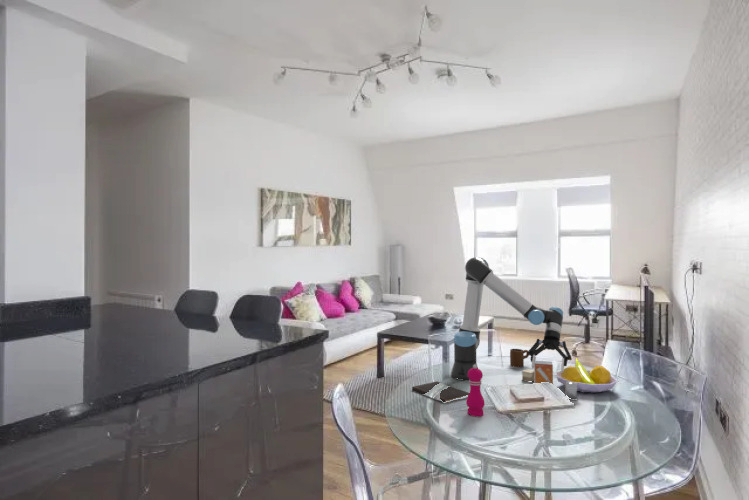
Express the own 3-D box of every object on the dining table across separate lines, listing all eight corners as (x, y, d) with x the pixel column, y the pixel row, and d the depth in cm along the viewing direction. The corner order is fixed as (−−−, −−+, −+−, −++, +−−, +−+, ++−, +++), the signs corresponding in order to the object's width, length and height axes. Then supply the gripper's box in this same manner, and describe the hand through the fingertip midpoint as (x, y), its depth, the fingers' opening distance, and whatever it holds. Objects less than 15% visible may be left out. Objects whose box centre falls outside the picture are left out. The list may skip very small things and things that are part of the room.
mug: (525, 363, 253) (525, 347, 253) (532, 366, 245) (532, 350, 246) (507, 364, 250) (507, 348, 250) (514, 367, 243) (514, 351, 243)
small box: (535, 390, 200) (534, 363, 200) (534, 386, 206) (533, 360, 206) (553, 392, 197) (552, 364, 198) (551, 388, 204) (551, 361, 204)
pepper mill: (485, 411, 172) (484, 363, 172) (483, 418, 165) (483, 367, 166) (467, 409, 174) (467, 361, 175) (465, 415, 167) (464, 365, 168)
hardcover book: (437, 385, 210) (436, 381, 210) (470, 398, 190) (470, 393, 190) (412, 391, 201) (412, 386, 201) (444, 405, 182) (444, 399, 182)
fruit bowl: (617, 401, 185) (617, 375, 185) (551, 391, 198) (551, 367, 198) (617, 384, 209) (616, 362, 209) (558, 377, 222) (558, 356, 223)
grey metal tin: (570, 400, 185) (570, 385, 185) (562, 397, 190) (562, 381, 190) (579, 399, 186) (579, 384, 187) (571, 396, 191) (571, 381, 191)
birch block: (530, 382, 213) (530, 372, 214) (522, 380, 218) (522, 370, 218) (536, 380, 216) (536, 371, 216) (528, 378, 220) (528, 369, 221)
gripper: (580, 340, 211) (576, 377, 198) (529, 335, 225) (522, 369, 212) (578, 331, 207) (574, 368, 194) (526, 327, 221) (519, 361, 208)
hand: (547, 369), depth 203 cm, fingers open, 13 cm apart
